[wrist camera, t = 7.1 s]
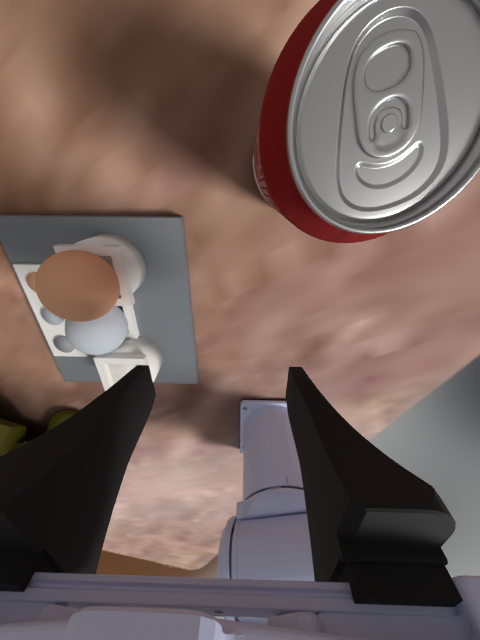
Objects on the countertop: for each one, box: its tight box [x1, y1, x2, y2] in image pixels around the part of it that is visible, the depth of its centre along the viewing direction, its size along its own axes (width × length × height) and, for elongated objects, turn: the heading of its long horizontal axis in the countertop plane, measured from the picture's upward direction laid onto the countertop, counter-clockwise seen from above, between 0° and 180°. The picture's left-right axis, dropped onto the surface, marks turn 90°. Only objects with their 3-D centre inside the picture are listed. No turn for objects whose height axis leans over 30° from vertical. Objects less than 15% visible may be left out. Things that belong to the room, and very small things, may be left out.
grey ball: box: [65, 306, 128, 355], centre depth 20 cm, size 4×4×4 cm
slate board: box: [0, 215, 199, 384], centre depth 22 cm, size 16×14×2 cm
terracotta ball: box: [35, 250, 120, 322], centre depth 15 cm, size 4×4×4 cm
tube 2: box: [93, 336, 163, 391], centre depth 22 cm, size 5×5×3 cm
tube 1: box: [53, 233, 146, 306], centre depth 18 cm, size 5×5×3 cm
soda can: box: [253, 0, 480, 243], centre depth 11 cm, size 7×7×12 cm
